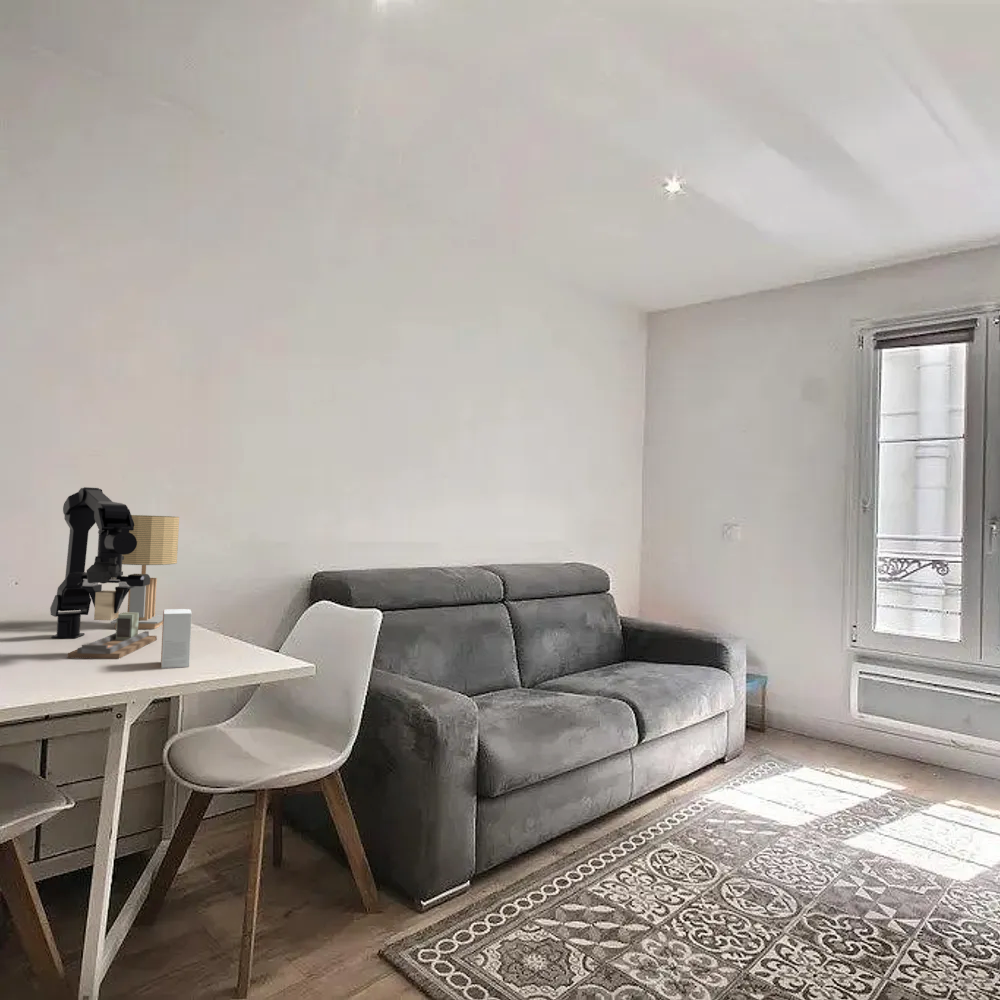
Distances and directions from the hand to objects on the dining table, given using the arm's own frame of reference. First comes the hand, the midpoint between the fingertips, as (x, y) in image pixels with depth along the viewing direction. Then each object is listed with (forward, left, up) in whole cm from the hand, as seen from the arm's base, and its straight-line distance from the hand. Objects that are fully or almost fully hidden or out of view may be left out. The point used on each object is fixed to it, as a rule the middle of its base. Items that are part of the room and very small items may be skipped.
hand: (106, 612), depth 187 cm
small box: (+13, +21, -11) cm, 27 cm away
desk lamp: (-47, -7, -11) cm, 49 cm away
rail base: (-7, 0, -10) cm, 12 cm away
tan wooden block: (0, 0, -2) cm, 2 cm away
